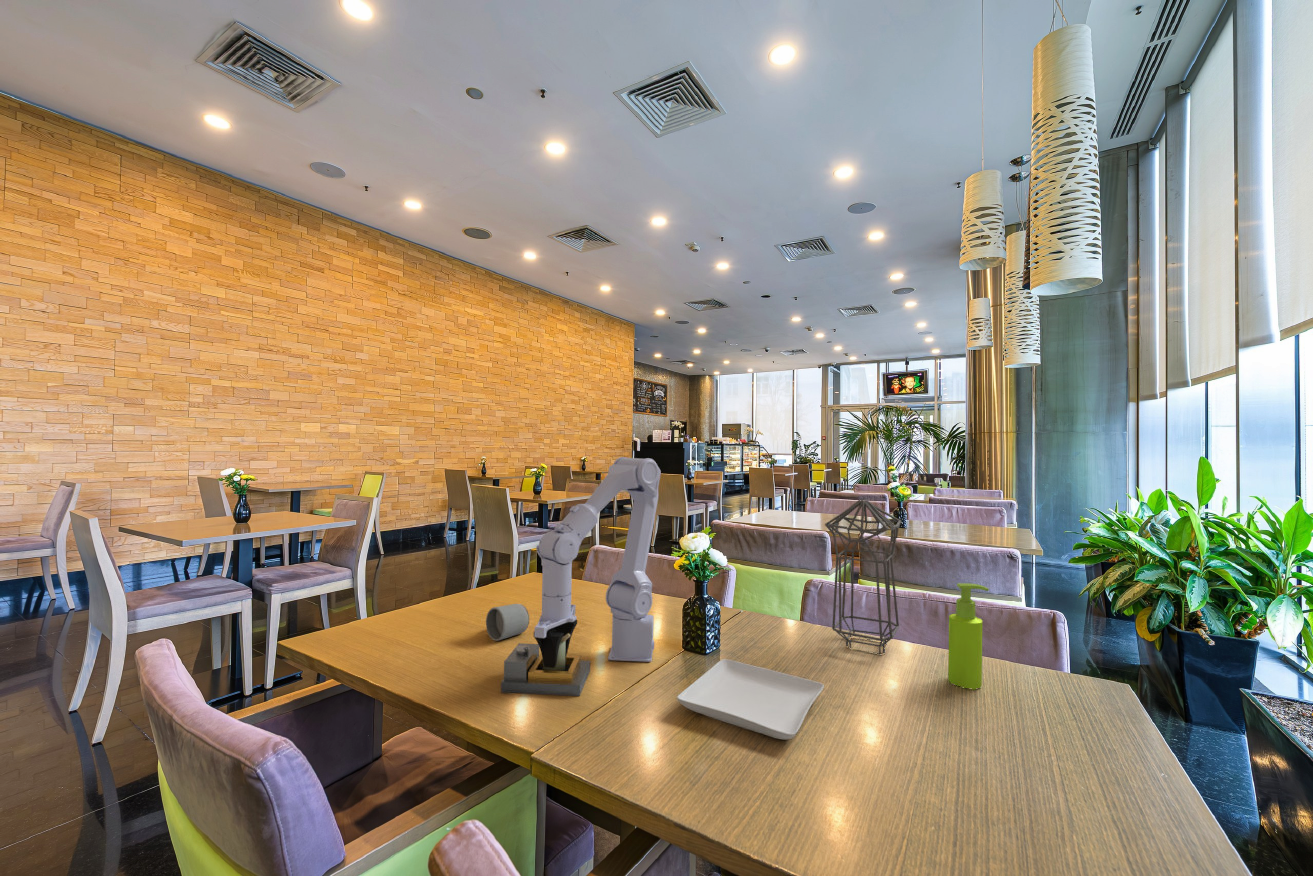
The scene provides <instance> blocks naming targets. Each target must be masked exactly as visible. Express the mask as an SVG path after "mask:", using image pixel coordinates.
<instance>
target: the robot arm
mask: <svg viewBox="0 0 1313 876" xmlns="http://www.w3.org/2000/svg"><path fill="white" fill-rule="evenodd" d="M661 472H662V471H661V469H660V467H659V466H658V463H656V461H655V460H654V459H653V458H649V457H648V458H647V457H646V458H637V457H626V456H620V457H618V458H616V460H615V461H614V462H613V464H612V465H611V464H610V466H609V467H608V473H607V475H606V476H605V477H604V479H603V480H601V483H599V485H598V486H597V488H596V489H595V490H594V492H593V493H591V495H590V496H589V497H588V499H587V501H585V503H578V504H576V505H572V506H571V507H570V508H569V513H568V514H566V516H565V517H564V518H563V519H561V521H560V523H559V524H558V523H557V524H556V525H555V527H554V529H553V530H550V531H547V532H546V533H544V534H543V535H542V537H541V538H540V540H539V542H538V545H536V552H537V554H538V556H539V558H540V559H541V566H542V572H541V573H542V577H541V578H542V579H541V581H542V583H541V615H540V617H539V620H538V622H537V624H536V625H535V626H534V631H533V637H534V639H535V641H536V644H538V645H539V651H540V654H542V658H543V662H544V666H545V667H550V668H555V667H556V663H557V657H558V650H559V645H560V642H561V639H562V637H564V636H565V635H566V634H570V637H569V638H568V639H567V640H566V648H565V657H566V655H568V651H569V647H570V646H569V645H570V643H571V639H572V636H573V633H574V631H575V628H576V627H577V625H578V619H577V615H576V607H577V606H576V604H572V584H573V583H572V575H573V574H572V570H573V569H572V568H573V566H572V565H573V561H574V560H575V559H576V558H577V556H578V554H579V551H580V547H581V544H582V541H583V540H584V539H585V538H586V537H587V535H588V534H589V533H590V532H591V530H593V528H594V527H595V526H596V525H597V524H598V522H599V520H598V519H599V518H598V514H599V513H600V512H601V511H602V510H603V509H604V508H605V507H606V506H607V505H608V504H609V503H610V502H611V501H612V500H613V499H614V498H615V497H616V496H617V495H618V494H619V493H621V491H626V492H627V493H628V494H629V495H630V497H631V499H633V503H632V509H631V514H630V519H629V525H628V532H627V535H626V541H625V546H624V547H625V548H624V551H623V552H624V553H623V558H622V563H621V568H620V569H619V570H618V571H616V572H615V573H614V574H613V575H612V577H611V581H610V585H608V587H607V589H606V593H605V602H606V604H607V606H608V607H609V608H610V613H611V614H612V621H611V622H612V623H611V624H612V628H611V629H612V631H611V633H612V634H611V648H610V651H609V654H608V656H607V660H608V661H619V662H620V661H622V662H624V661H625V662H626V661H627V662H648V663H650V662H652V660H653V652H654V650H655V640H654V623H655V621H654V615H652V614H648V613H649V612H650V611H651V608H652V605H653V594H652V592H653V591H652V589H653V582H652V581H651V579H650V578H649V577H648V575H647V574H646V567H647V563H648V558H649V552H650V547H651V542H652V535H653V530H654V524H655V518H656V512H657V507H658V502H659V485H660V479H661V474H662V473H661Z"/></svg>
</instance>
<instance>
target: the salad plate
mask: <svg viewBox="0 0 1313 876" xmlns="http://www.w3.org/2000/svg"><path fill="white" fill-rule="evenodd" d="M824 689H825V685H824V683H822V682H819V681H815V680H812V679H807V678H804V677H801V676H797V675H792V674H788V673H784V672H780V671H777V670H773V669H768V668H765V667H761V666H757V665H756V666H755V665H753V664H748V663H745V662H740V661H736V660H733V659H732V660H731V659H726V658H722V659H721V660H719V661H718V662H716V663H715V664H714V665H713V666H711V668H709V669H708V670H707V671H706V672H705V673H703V674H702V675H701V676H700V677H698V679H696V680H694V682H692V683H691V684H690V685H689V686H687V687H686V688H685V689H684V690H682V692H680V693H679V694H678V695H677V696H676V700H677V702H679V703H680V704H681V706H683V707H685V708H687V710H688V709H689V710H690V711H693V712H695V713H698V714H702V715H704V716H706V717H709V718H710V719H711V718H712V719H714V720H717V721H721V722H724V723H727V724H729V725H732V726H735V727H740V728H742V729H744V730H745V729H746V730H748V731H752V732H755V733H758V734H761V735H766V736H768V737H771V738H774V739H776V740H777V739H778V740H791V739H793V738H795V737H796V735H797V733H798V731H799V730H800V728H801V726H802V725H803V722H804V721H805V720H804V719H805V718H806V716H807V714H808V712H809V710H810V708H811V706H812V705H813V703H814V702H815V700H817V698H818V697H819V696H820V695H821V692H823V690H824Z"/></svg>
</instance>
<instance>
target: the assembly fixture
mask: <svg viewBox="0 0 1313 876" xmlns="http://www.w3.org/2000/svg"><path fill="white" fill-rule="evenodd" d="M503 662H504V663H503V679H502V680H501V681H500V693H501V694H523V695H543V696H544V695H545V696H546V695H548V696H549V695H550V696H566V697H568V696H569V697H570V696H572V697H573V696H574V697H580V696H581V695H582V692H583V689H584V686H585V684H586V681H587V679H588V677H589V673H591V660H581V655H568V654H567V655H566V657H565V671H545V670H543V658H542V654H541V653H540V647H539V645H538V643H520V642H519V643H517V645H516V646H515V647H514V648H513V650H512V651H511V652H510V654H509V655H508V656H507V657H506V659H504V661H503Z"/></svg>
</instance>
